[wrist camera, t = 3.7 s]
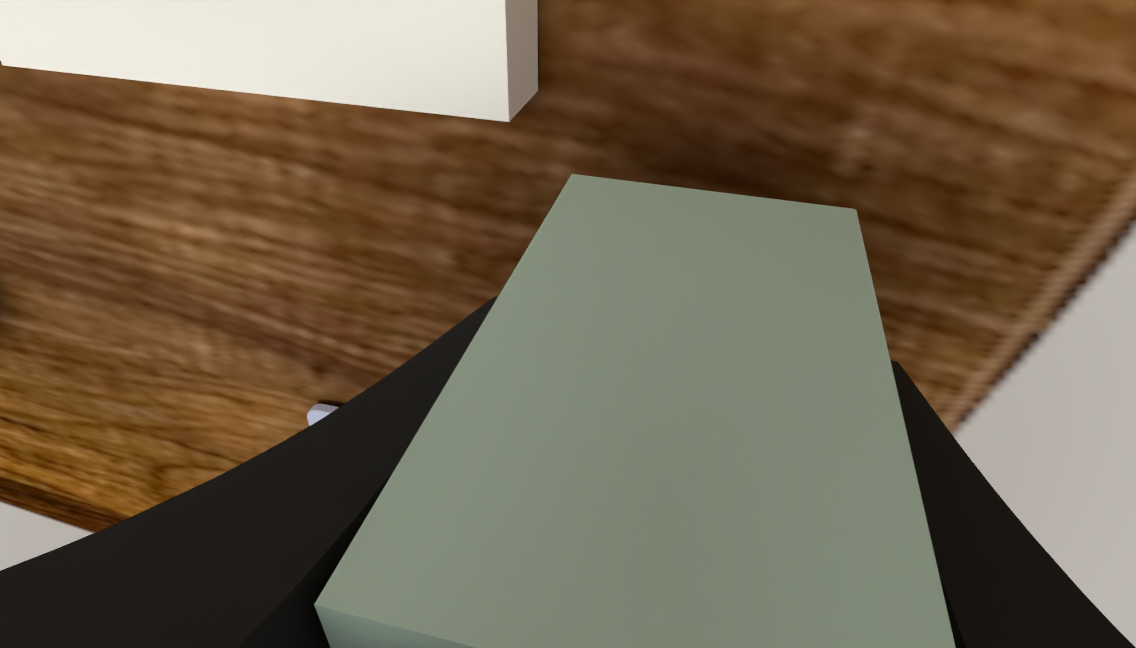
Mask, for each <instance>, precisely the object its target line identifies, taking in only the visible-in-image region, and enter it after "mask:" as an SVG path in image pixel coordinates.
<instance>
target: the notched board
mask: <svg viewBox="0 0 1136 648" xmlns="http://www.w3.org/2000/svg"><path fill="white" fill-rule="evenodd" d="M0 60H1V62H2V65H5V66H14V67H23V68H32V69H41V70H50V71H59V72H68V73H76V74H85V75H94V76H103V77H112V78H121V79H130V80H139V81H148V82H157V83H166V84H175V85H184V86H193V87H201V88H210V89H219V90H228V91H237V92H246V93H255V94H264V95H273V96H282V97H291V98H300V99H309V100H317V101H326V102H335V103H344V104H353V105H362V106H371V107H380V108H389V109H398V110H407V111H416V112H425V113H434V114H442V115H451V116H460V117H469V118H478V119H487V120H496V121H505V122H509V121H510V120H511V119H512V118H513V117H514V116H515V115H516V114H517V113H518V112H519V111H520V110H521V109H522V107H523V106H524V105H525V104H526V103H527V102H528V101H529V100H530V99H531V98H532V97H533V96H534V95H535V93H536V92H537V91H538V0H0Z"/></svg>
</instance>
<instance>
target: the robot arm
mask: <svg viewBox="0 0 1136 648" xmlns="http://www.w3.org/2000/svg"><path fill="white" fill-rule="evenodd" d="M497 298H498V297H494V298H492V299H491V300H489V301H488V302H487V303H485V304H484V305H483V306H481V307H480V308H478V309H477V310H476V311H474V312H473V313H472V314H470V315H469V316H468V317H466V318H465V319H464V320H462V321H461V322H460V323H458V324H457V325H456V326H454V327H453V328H452V329H450V330H449V331H448V332H446V333H445V334H444V335H442V336H441V337H440V338H438V339H437V340H436V341H434V342H433V343H432V344H430V345H429V346H428V347H426V348H425V349H424V350H422V351H421V352H419V353H418V354H417V355H415V356H414V357H412V358H411V359H410V360H408V361H407V362H405V363H404V364H403V365H401V366H400V367H399V368H397V369H396V370H394V371H393V372H392V373H390V374H389V375H387V376H386V377H385V378H383V379H382V380H380V381H379V382H377V383H376V384H374V385H373V386H371V387H370V388H368V389H367V390H365V391H364V392H362V393H360V394H359V395H357V396H356V397H354V398H353V399H351V400H350V401H348V402H347V403H345V404H344V405H342V406H340V407H335V406H330V405H325V404H316V405H313V407H312V408H311V409H310V410H309V412H308V413H307V419H308V423H309V427H307V428H306V429H304V430H302V431H301V432H299V433H297V434H295V435H294V436H292V437H290V438H288V439H287V440H285V441H283V442H281V443H280V444H278V445H276V446H274V447H272V448H270V449H269V450H267V451H265V452H263V453H261V454H259V455H258V456H256V457H254V458H252V459H250V460H248V461H246V462H245V463H243V464H241V465H239V466H237V467H235V468H233V469H231V470H229V471H227V472H226V473H224V474H222V475H220V476H218V477H216V478H214V479H212V480H209V481H207V482H205V483H203V484H201V485H199V486H197V487H194V488H192V489H190V490H188V491H186V492H184V493H182V494H180V495H177V496H175V497H173V498H171V499H169V500H167V501H165V502H162V503H160V504H158V505H156V506H154V507H152V508H150V509H148V510H145V511H143V512H141V513H139V514H137V515H135V516H133V517H130V518H128V519H126V520H124V521H122V522H119V523H117V524H115V525H113V526H110V527H108V528H106V529H103V530H101V531H98V532H96V533H94V534H91V535H89V536H86V537H84V538H82V539H79V540H77V541H74V542H72V543H70V544H67V545H65V546H62V547H60V548H58V549H55V550H53V551H50V552H47V553H45V554H42V555H40V556H37V557H35V558H32V559H29V560H27V561H24V562H22V563H20V564H17V565H14V566H12V567H9V568H6V569H4V570H1V571H0V648H330V645H329V642H328V640H327V637H326V634H325V632H324V629H323V627H322V624H321V621H320V619H319V616H318V613H317V611H316V608H315V606H314V604H315V602H316V601H317V599H318V597H319V596H320V594H321V592H322V591H323V589H324V587H325V586H326V584H327V582H328V581H329V579H330V577H331V576H332V574H333V572H334V571H335V569H336V567H337V565H338V564H339V562H340V560H341V559H342V557H343V555H344V554H345V552H346V550H347V549H348V547H349V545H350V544H351V542H352V540H353V539H354V537H355V535H356V534H357V532H358V530H359V529H360V527H361V525H362V524H363V522H364V520H365V519H366V517H367V515H368V514H369V512H370V510H371V509H372V507H373V505H374V504H375V502H376V500H377V499H378V497H379V495H380V494H381V492H382V490H383V489H384V487H385V485H386V484H387V482H388V480H389V479H390V477H391V475H392V474H393V472H394V470H395V469H396V467H397V465H398V464H399V462H400V460H401V458H402V457H403V455H404V453H405V452H406V450H407V448H408V447H409V445H410V443H411V442H412V440H413V438H414V437H415V435H416V433H417V432H418V430H419V428H420V427H421V425H422V423H423V422H424V420H425V418H426V417H427V415H428V413H429V412H430V410H431V408H432V407H433V405H434V403H435V402H436V400H437V398H438V397H439V395H440V393H441V392H442V390H443V388H444V387H445V385H446V383H447V382H448V380H449V378H450V377H451V375H452V373H453V372H454V370H455V368H456V367H457V365H458V363H459V362H460V360H461V358H462V357H463V355H464V353H465V351H466V350H467V348H468V346H469V345H470V343H471V341H472V340H473V338H474V336H475V335H476V333H477V331H478V330H479V328H480V326H481V325H482V323H483V321H484V320H485V318H486V316H487V315H488V313H489V311H490V310H491V308H492V306H493V305H494V303H495V301H496V300H497ZM891 365H892V370H893V374H894V379H895V383H896V387H897V392H898V396H899V401H900V405H901V409H902V414H903V418H904V423H905V427H906V431H907V436H908V440H909V445H910V449H911V453H912V458H913V462H914V467H915V471H916V475H917V480H918V484H919V489H920V493H921V497H922V502H923V506H924V511H925V515H926V519H927V524H928V528H929V533H930V537H931V541H932V546H933V550H934V555H935V559H936V563H937V568H938V572H939V577H940V581H941V585H942V590H943V594H944V599H945V603H946V607H947V612H948V616H949V621H950V625H951V629H952V634H953V638H954V643H955V647H956V648H1135V647H1134V646H1133V645H1132V644H1131V643H1130V642H1129V641H1128V640H1127V639H1126V638H1125V637H1124V636H1123V635H1122V634H1121V633H1120V632H1119V631H1118V630H1117V629H1116V628H1115V627H1114V625H1113V624H1112V623H1111V622H1110V621H1109V620H1108V619H1107V618H1106V617H1105V616H1104V615H1103V614H1102V613H1101V612H1100V611H1099V610H1098V608H1096V606H1095V605H1094V604H1093V603H1092V602H1091V601H1090V600H1089V599H1088V598H1087V597H1086V596H1085V595H1084V593H1082V591H1081V590H1080V589H1079V588H1078V587H1077V586H1076V585H1075V584H1074V582H1073V581H1072V580H1071V579H1070V578H1069V577H1068V575H1067V574H1066V573H1065V572H1064V571H1063V570H1062V569H1061V568H1060V566H1059V565H1058V564H1057V563H1056V562H1055V561H1054V560H1053V558H1052V557H1051V556H1050V555H1049V554H1048V553H1047V552H1046V551H1045V549H1044V548H1043V547H1042V546H1041V545H1040V544H1039V543H1038V542H1037V540H1036V539H1035V538H1034V537H1033V536H1032V535H1031V534H1030V532H1029V531H1028V530H1027V529H1026V527H1025V526H1024V525H1023V524H1022V523H1021V522H1020V520H1019V519H1018V518H1017V517H1016V516H1015V515H1014V513H1013V512H1012V511H1011V510H1010V508H1009V507H1008V506H1007V505H1006V504H1005V502H1004V501H1003V500H1002V499H1001V497H1000V496H999V495H998V494H997V493H996V491H995V490H994V489H993V487H992V486H991V485H990V484H989V482H988V481H987V480H986V479H985V477H984V476H983V475H982V473H981V472H980V471H979V470H978V468H977V467H976V466H975V465H974V463H973V462H972V461H971V459H970V458H969V457H968V456H967V454H966V453H965V452H964V450H963V449H962V448H961V446H960V445H959V444H958V442H957V441H956V440H955V438H954V437H953V436H952V434H951V433H950V432H949V430H948V429H947V428H946V426H945V425H944V424H943V422H942V421H941V420H940V418H939V417H938V416H937V414H936V413H935V412H934V410H933V409H932V407H931V406H930V405H929V403H928V402H927V401H926V399H925V398H924V396H923V395H922V394H921V392H920V391H919V390H918V388H917V387H916V386H915V384H914V383H913V381H912V380H911V379H910V377H909V376H908V375H907V373H906V372H905V371H904V369H903V368H902V367H901V365H900V364H899V363H898V362H895V361H891Z"/></svg>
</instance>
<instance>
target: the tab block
mask: <svg viewBox="0 0 1136 648" xmlns="http://www.w3.org/2000/svg"><path fill="white" fill-rule="evenodd" d="M314 606H315V608H316V611H317V613H318V616H319V619H320V621H321V624H322V627H323V629H324V632H325V634H326V637H327V640H328V642H329V645H330V648H956V647H955V643H954V638H953V634H952V629H951V625H950V621H949V616H948V612H947V607H946V603H945V599H944V594H943V590H942V585H941V581H940V577H939V572H938V568H937V563H936V559H935V555H934V550H933V546H932V541H931V537H930V533H929V528H928V524H927V519H926V515H925V511H924V506H923V502H922V497H921V493H920V489H919V484H918V480H917V475H916V471H915V467H914V462H913V458H912V453H911V449H910V445H909V440H908V436H907V431H906V427H905V423H904V418H903V414H902V409H901V405H900V401H899V396H898V392H897V387H896V383H895V379H894V374H893V370H892V365H891V361H890V357H889V352H888V348H887V343H886V339H885V335H884V330H883V326H882V321H881V317H880V313H879V308H878V304H877V299H876V295H875V291H874V286H873V282H872V277H871V273H870V269H869V264H868V260H867V255H866V251H865V247H864V242H863V238H862V233H861V229H860V225H859V220H858V216H857V211H856V209H851V208H842V207H834V206H826V205H818V204H810V203H802V202H794V201H786V200H778V199H770V198H762V197H754V196H746V195H738V194H730V193H722V192H714V191H706V190H698V189H690V188H682V187H674V186H665V185H657V184H649V183H641V182H633V181H625V180H617V179H609V178H601V177H593V176H585V175H577V174H571V176H570V178H569V179H568V181H567V183H566V184H565V186H564V188H563V189H562V191H561V193H560V194H559V196H558V198H557V199H556V201H555V203H554V204H553V206H552V208H551V209H550V211H549V213H548V214H547V216H546V218H545V219H544V221H543V223H542V224H541V226H540V228H539V229H538V231H537V233H536V234H535V236H534V238H533V239H532V241H531V243H530V245H529V246H528V248H527V250H526V251H525V253H524V255H523V256H522V258H521V260H520V261H519V263H518V265H517V266H516V268H515V270H514V271H513V273H512V275H511V276H510V278H509V280H508V281H507V283H506V285H505V286H504V288H503V290H502V291H501V293H500V295H499V296H498V298H497V300H496V301H495V303H494V305H493V306H492V308H491V310H490V311H489V313H488V315H487V316H486V318H485V320H484V321H483V323H482V325H481V326H480V328H479V330H478V331H477V333H476V335H475V336H474V338H473V340H472V341H471V343H470V345H469V346H468V348H467V350H466V351H465V353H464V355H463V357H462V358H461V360H460V362H459V363H458V365H457V367H456V368H455V370H454V372H453V373H452V375H451V377H450V378H449V380H448V382H447V383H446V385H445V387H444V388H443V390H442V392H441V393H440V395H439V397H438V398H437V400H436V402H435V403H434V405H433V407H432V408H431V410H430V412H429V413H428V415H427V417H426V418H425V420H424V422H423V423H422V425H421V427H420V428H419V430H418V432H417V433H416V435H415V437H414V438H413V440H412V442H411V443H410V445H409V447H408V448H407V450H406V452H405V453H404V455H403V457H402V458H401V460H400V462H399V464H398V465H397V467H396V469H395V470H394V472H393V474H392V475H391V477H390V479H389V480H388V482H387V484H386V485H385V487H384V489H383V490H382V492H381V494H380V495H379V497H378V499H377V500H376V502H375V504H374V505H373V507H372V509H371V510H370V512H369V514H368V515H367V517H366V519H365V520H364V522H363V524H362V525H361V527H360V529H359V530H358V532H357V534H356V535H355V537H354V539H353V540H352V542H351V544H350V545H349V547H348V549H347V550H346V552H345V554H344V555H343V557H342V559H341V560H340V562H339V564H338V565H337V567H336V569H335V571H334V572H333V574H332V576H331V577H330V579H329V581H328V582H327V584H326V586H325V587H324V589H323V591H322V592H321V594H320V596H319V597H318V599H317V601H316V602H315V604H314Z"/></svg>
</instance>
